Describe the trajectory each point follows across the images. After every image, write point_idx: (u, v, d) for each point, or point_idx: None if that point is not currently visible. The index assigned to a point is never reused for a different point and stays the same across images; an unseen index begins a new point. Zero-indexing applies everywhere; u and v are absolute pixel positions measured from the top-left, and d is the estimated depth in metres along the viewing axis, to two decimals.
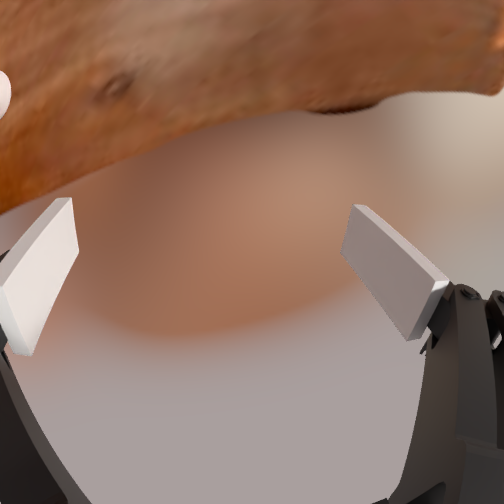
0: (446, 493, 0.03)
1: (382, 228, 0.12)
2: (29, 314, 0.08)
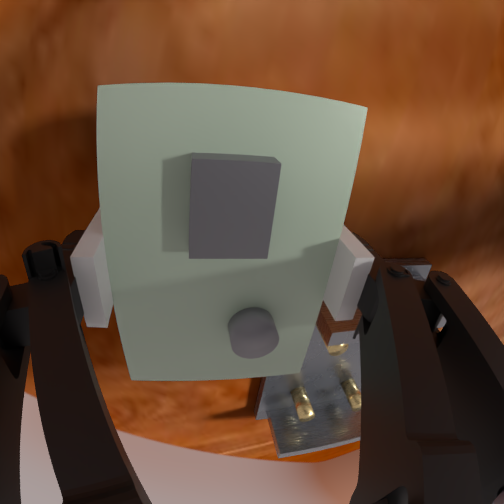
0: (409, 499, 0.03)
1: None
2: (106, 287, 0.10)
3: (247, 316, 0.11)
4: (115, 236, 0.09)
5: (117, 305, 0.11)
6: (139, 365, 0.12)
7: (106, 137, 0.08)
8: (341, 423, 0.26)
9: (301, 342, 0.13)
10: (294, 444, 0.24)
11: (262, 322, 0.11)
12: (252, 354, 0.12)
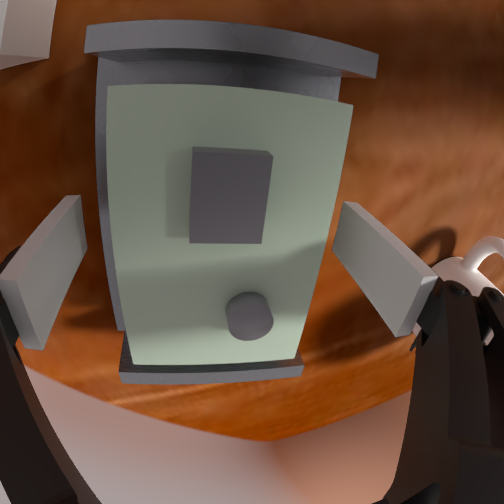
0: (440, 493, 0.03)
1: (372, 225, 0.12)
2: (41, 309, 0.08)
3: (243, 299, 0.12)
4: (121, 223, 0.10)
5: (122, 289, 0.11)
6: (141, 349, 0.13)
7: (115, 132, 0.09)
8: None
9: (295, 327, 0.14)
10: None
11: (257, 305, 0.12)
12: (248, 337, 0.12)
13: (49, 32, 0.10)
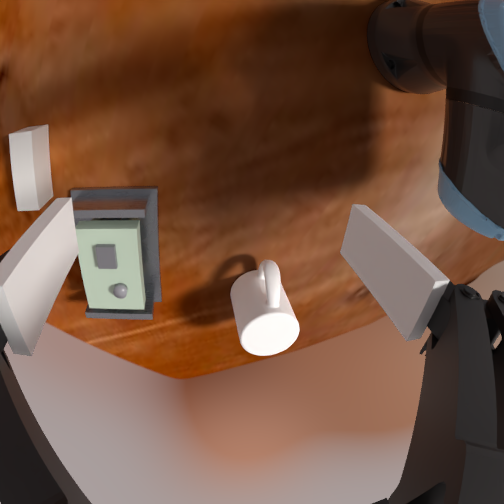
0: (446, 493, 0.03)
1: (382, 228, 0.12)
2: (29, 314, 0.08)
3: (117, 285, 0.37)
4: (82, 262, 0.35)
5: (84, 281, 0.36)
6: (91, 301, 0.38)
7: (77, 240, 0.33)
8: None
9: (139, 296, 0.39)
10: (95, 309, 0.40)
11: (120, 286, 0.37)
12: (120, 297, 0.37)
13: (51, 186, 0.35)
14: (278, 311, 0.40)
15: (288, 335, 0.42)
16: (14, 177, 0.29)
